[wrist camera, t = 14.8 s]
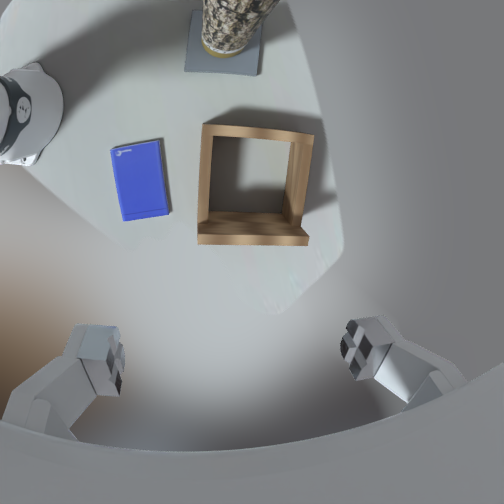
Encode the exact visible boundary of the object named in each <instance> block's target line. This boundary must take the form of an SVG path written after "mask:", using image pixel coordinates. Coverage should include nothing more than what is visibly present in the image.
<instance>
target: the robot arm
mask: <svg viewBox="0 0 504 504" xmlns="http://www.w3.org/2000/svg"><path fill="white" fill-rule="evenodd" d="M62 114H63V96H62V92H61V89H60V87H59V85H58V83H57V82H56V81H55V80H54V79H53V78H52V77H50V76H49V75H47V74H46V73H44V71H43V69H42V67H41V65H40V64H39V63H31V64H29V65H27V66H26V67H24V68H22V69H12V70H10V72H9V73H7V74H5V75H4V76H0V165H2V164H5V163H8V164H17V165H24V166H31V165H34V164H35V163H36V161H37V159H38V157H39V154H40V152H41V150H42V149H43V148H44V147H45V146H46V145H47V144H48V143H49V142H50V141H51V139H52V138H53V137H54V135H55V133H56V132H57V130H58V127H59V125H60V122H61V118H62ZM25 158H26V160H25ZM346 329H347V331H348V332H347V333H346V334H345V335H344V336H343V337H342V340H341V343H340V351H341V355H342V357H343V359H344V360H345V361H347V362H348V363H350V366H349V370H350V371H351V373H352V375H353V377H354V379H355V380H356V381H357V380H362V379H367V378H372V377H374V379H376V380H377V381H378V382H380V383H381V384H382V385H384V386H385V387H386V388H388V389H389V390H390V391H392V392H393V393H394V394H396V395H397V396H398V397H400V398H401V399H402V400H404V401H405V402H407V405H406V406H405V407H404V409H403V410H402V412H401V413H399V414H397V415H394V416H391V417H388V418H386V419H383V420H379V421H376V422H374V423H370V424H367V425H364V426H360V427H357V428H353V429H350V430H346V431H342V432H338V433H334V434H330V435H326V436H322V437H317V438H313V439H307V440H302V441H297V442H291V443H286V444H279V445H273V446H266V447H258V448H248V449H238V450H225V451H202V452H169V451H168V452H167V451H147V450H135V449H124V448H115V447H108V446H101V445H94V444H88V443H83V442H78V440H77V439H76V437H75V436H74V435H73V434H72V433H71V431H70V430H69V428H70V427H71V425H72V424H73V423H74V422H75V420H76V419H77V418H78V417H79V416H80V415H81V414H82V413H83V411H84V410H85V409H86V408H87V407H88V406H89V404H90V403H91V402H92V401H93V400H94V399H95V397H96V395H105V396H120V391H121V385H122V380H121V377H120V374H121V373H122V372H124V366H125V353H124V348H123V345H122V344H121V343H120V342H119V339H120V332H119V329H118V328H117V327H115V326H102V325H91V324H90V325H88V324H79V323H77V324H76V325H75V326H74V328H73V330H72V333H71V335H70V337H69V340H68V342H67V344H66V347H65V349H64V352H63V354H62V357H61V356H58V357H56V358H55V359H54V360H52V361H51V362H50V363H48V364H47V365H46V366H44V367H43V368H42V369H40V370H39V371H38V372H36V373H35V374H34V375H32V376H31V377H30V378H28V379H27V380H26V381H25V382H23V383H22V384H21V385H19V386H18V387H17V388H16V389H14V390H13V391H12V393H11V396H10V399H9V401H8V404H7V407H6V410H5V412H4V415H3V418H2V420H0V504H504V362H502V363H501V364H499V365H498V366H496V367H494V368H493V369H491V370H490V371H488V372H486V373H484V374H483V375H481V376H479V377H477V378H476V379H474V380H472V381H470V382H467V380H466V379H465V378H464V376H463V375H462V374H461V373H460V371H459V370H458V369H457V368H456V366H455V365H454V364H453V363H452V362H450V361H448V360H446V359H444V358H442V357H440V356H438V355H436V354H434V353H432V352H430V351H429V350H426V349H425V348H423V347H420V346H419V345H417V344H415V343H413V342H411V341H409V340H406V341H405V340H404V338H403V337H402V336H401V334H400V333H399V332H398V331H397V329H396V328H395V327H394V326H393V324H392V323H391V322H390V321H389V319H388V318H387V317H386V316H384V315H381V316H373V317H368V318H359V319H351V320H350V321H349V322H348V324H347V326H346Z"/></svg>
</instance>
